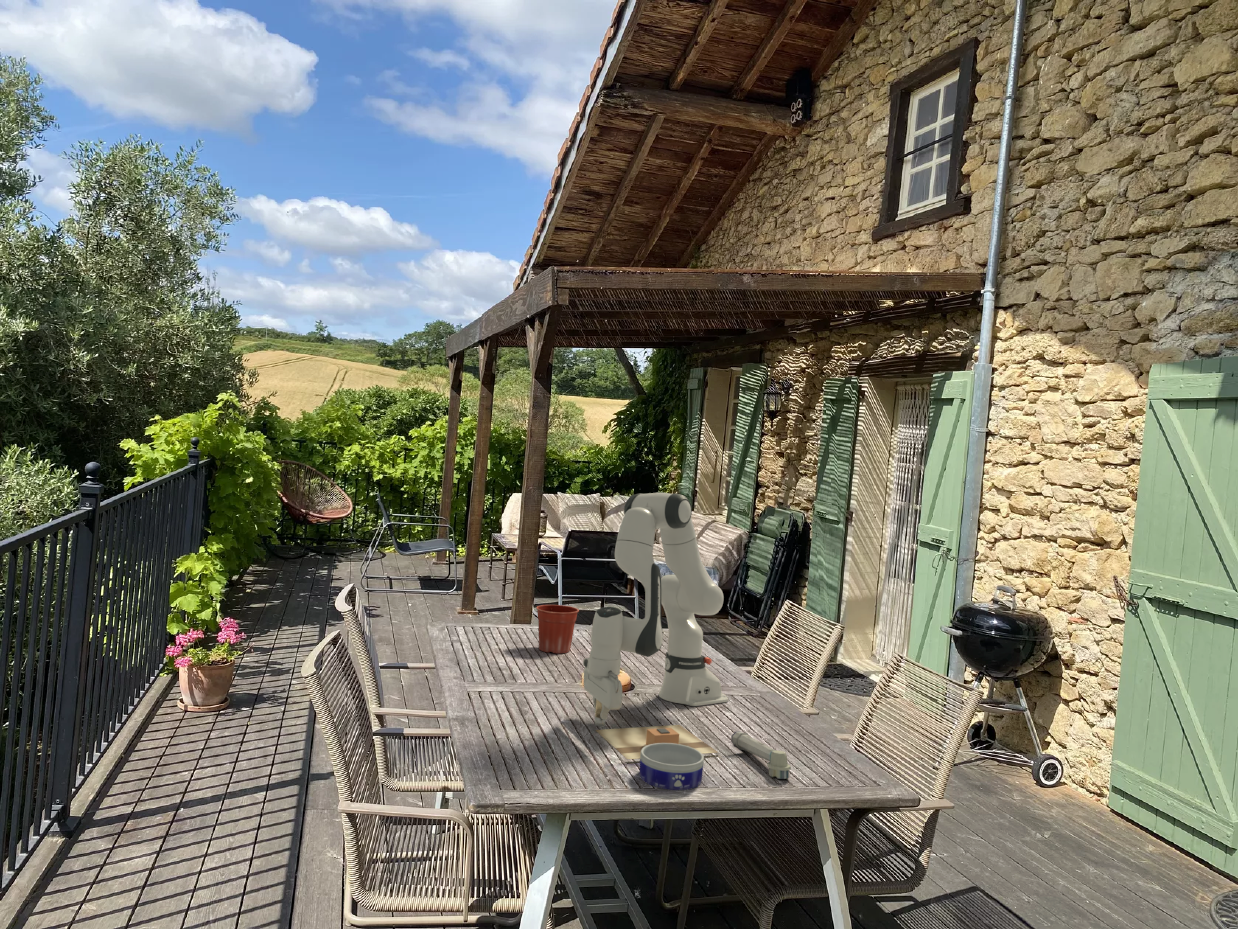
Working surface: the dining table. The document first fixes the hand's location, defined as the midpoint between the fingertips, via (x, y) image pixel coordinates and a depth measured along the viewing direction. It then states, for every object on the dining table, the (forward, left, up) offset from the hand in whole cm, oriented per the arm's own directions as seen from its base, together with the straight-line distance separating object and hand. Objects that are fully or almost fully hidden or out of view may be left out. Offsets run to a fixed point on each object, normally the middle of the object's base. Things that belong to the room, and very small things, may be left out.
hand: (600, 716), depth 233 cm
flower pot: (-17, -89, -4) cm, 91 cm away
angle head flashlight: (-32, +31, -4) cm, 45 cm away
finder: (-10, +19, -2) cm, 22 cm away
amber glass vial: (0, 0, -4) cm, 4 cm away
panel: (-10, +15, -4) cm, 18 cm away
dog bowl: (-4, +36, -4) cm, 36 cm away
